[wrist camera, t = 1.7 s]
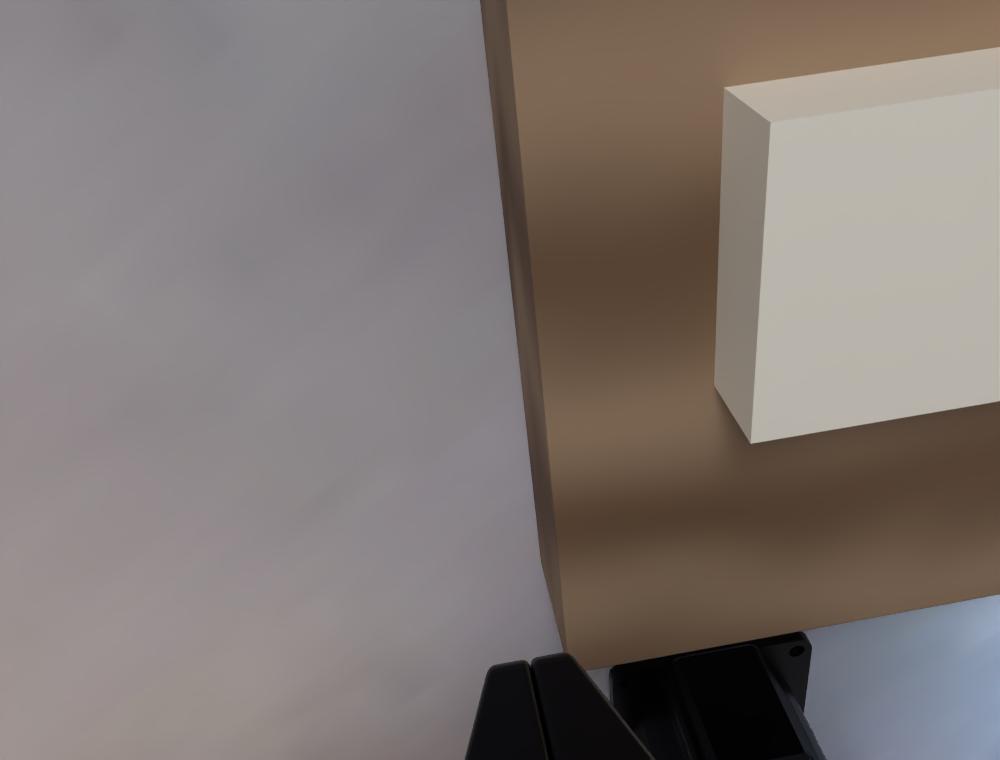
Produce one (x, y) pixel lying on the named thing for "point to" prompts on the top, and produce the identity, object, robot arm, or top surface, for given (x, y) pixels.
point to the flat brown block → (701, 340)
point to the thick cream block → (860, 245)
